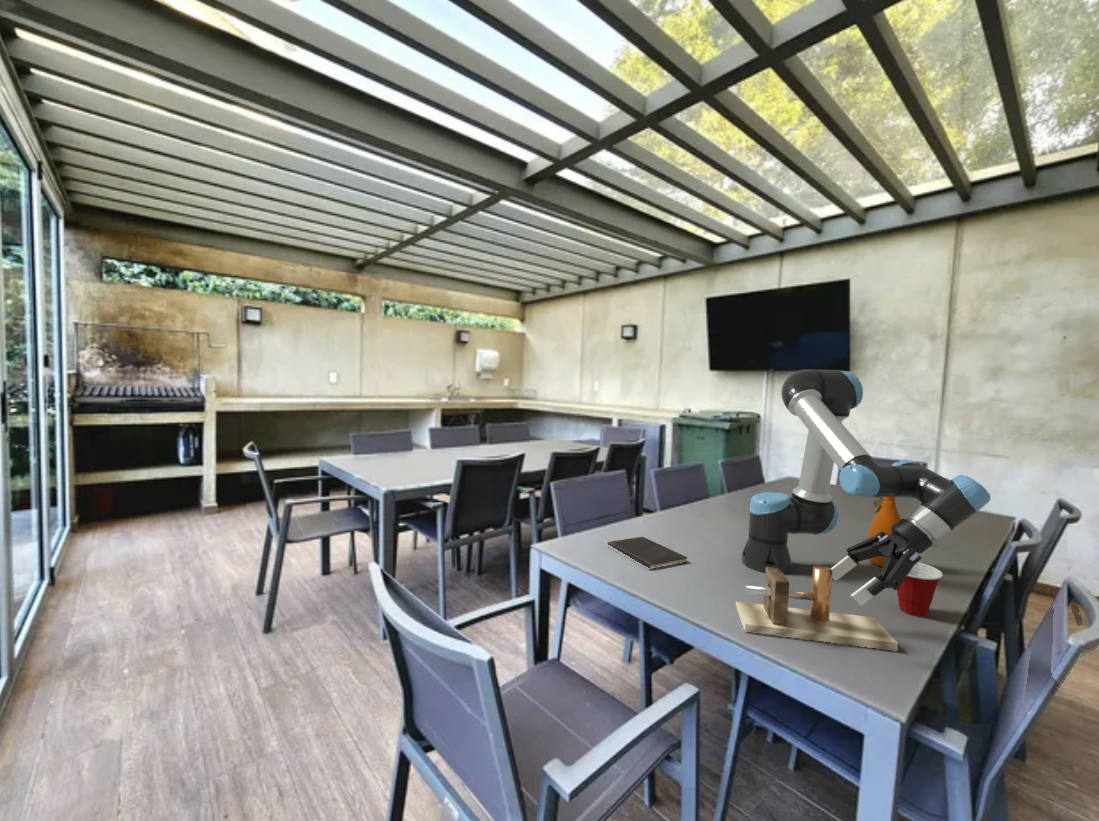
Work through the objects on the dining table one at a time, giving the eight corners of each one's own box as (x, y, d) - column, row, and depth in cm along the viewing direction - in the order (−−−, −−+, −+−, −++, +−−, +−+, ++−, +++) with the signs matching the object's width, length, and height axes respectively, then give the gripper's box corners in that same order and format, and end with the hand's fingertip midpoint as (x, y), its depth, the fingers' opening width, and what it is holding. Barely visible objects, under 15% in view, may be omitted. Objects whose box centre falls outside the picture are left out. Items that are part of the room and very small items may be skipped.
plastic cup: (883, 610, 124) (886, 566, 123) (891, 598, 132) (894, 556, 131) (936, 626, 116) (940, 579, 116) (941, 612, 124) (945, 568, 123)
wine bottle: (888, 559, 163) (894, 474, 162) (910, 570, 153) (917, 479, 152) (860, 558, 163) (866, 473, 161) (881, 570, 153) (887, 479, 151)
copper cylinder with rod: (746, 612, 114) (749, 564, 114) (742, 605, 118) (745, 558, 117) (831, 622, 110) (835, 572, 110) (825, 614, 114) (828, 566, 114)
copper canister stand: (744, 632, 111) (747, 580, 110) (735, 608, 122) (737, 561, 122) (897, 651, 104) (901, 596, 104) (871, 625, 116) (875, 575, 115)
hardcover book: (642, 542, 174) (642, 536, 174) (687, 564, 154) (687, 557, 154) (606, 548, 167) (607, 541, 167) (649, 571, 147) (649, 564, 146)
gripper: (969, 562, 94) (881, 626, 98) (901, 526, 119) (832, 579, 122) (940, 534, 95) (854, 598, 98) (878, 504, 119) (811, 557, 123)
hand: (842, 587), depth 110 cm, fingers open, 13 cm apart
